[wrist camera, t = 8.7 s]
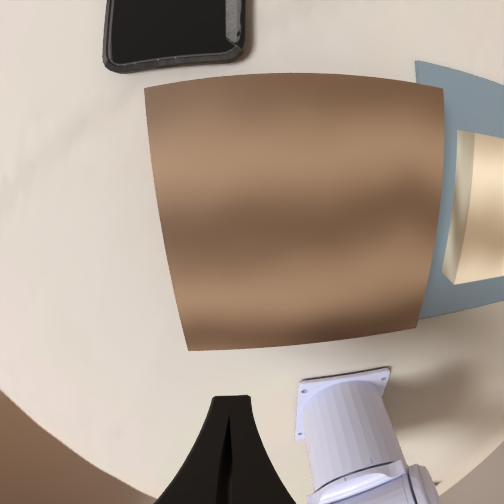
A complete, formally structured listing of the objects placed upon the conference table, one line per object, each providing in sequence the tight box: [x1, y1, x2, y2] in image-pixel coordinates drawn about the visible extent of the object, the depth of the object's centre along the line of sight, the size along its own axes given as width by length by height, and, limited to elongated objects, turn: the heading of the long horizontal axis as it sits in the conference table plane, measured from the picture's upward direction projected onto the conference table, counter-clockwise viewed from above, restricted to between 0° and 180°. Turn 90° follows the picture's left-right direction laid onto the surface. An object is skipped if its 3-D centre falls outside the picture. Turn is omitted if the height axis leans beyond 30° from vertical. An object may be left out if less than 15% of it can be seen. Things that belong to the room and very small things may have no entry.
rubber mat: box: [415, 61, 504, 319], centre depth 17 cm, size 18×13×1 cm
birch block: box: [441, 130, 504, 285], centre depth 16 cm, size 10×6×2 cm, turn 4°
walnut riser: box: [144, 73, 444, 351], centre depth 16 cm, size 14×14×4 cm
